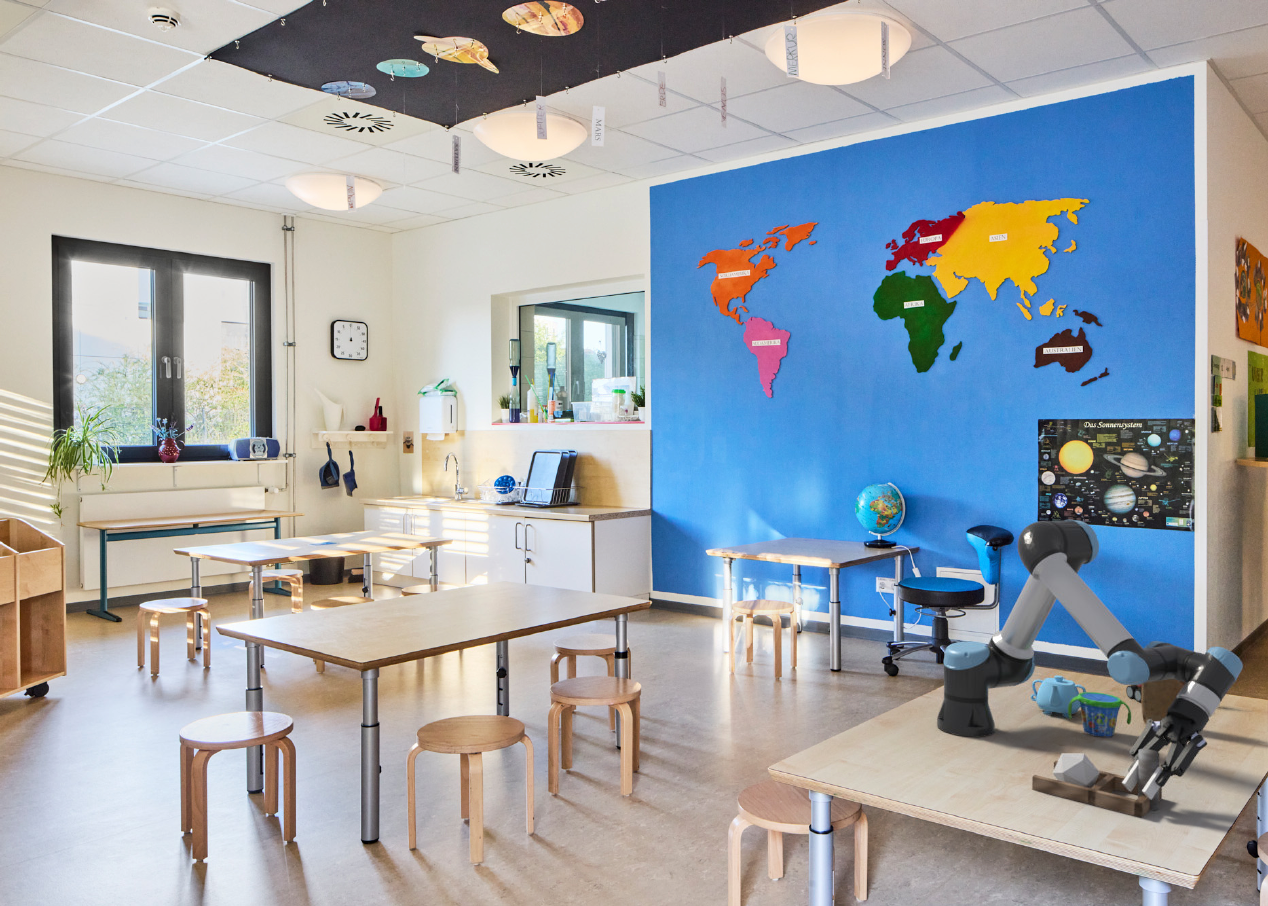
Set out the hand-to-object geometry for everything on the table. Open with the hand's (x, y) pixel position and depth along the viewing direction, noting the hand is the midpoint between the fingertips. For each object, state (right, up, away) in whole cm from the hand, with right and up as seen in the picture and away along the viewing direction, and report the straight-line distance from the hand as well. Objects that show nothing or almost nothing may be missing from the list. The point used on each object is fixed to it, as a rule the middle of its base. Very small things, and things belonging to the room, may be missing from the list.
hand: (1136, 791), depth 201 cm
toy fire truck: (+53, -4, +86) cm, 101 cm away
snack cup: (+19, -4, +54) cm, 58 cm away
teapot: (+16, -4, +73) cm, 75 cm away
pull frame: (-4, -4, +8) cm, 10 cm away
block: (+41, -4, +61) cm, 74 cm away
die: (-8, -4, +12) cm, 15 cm away
